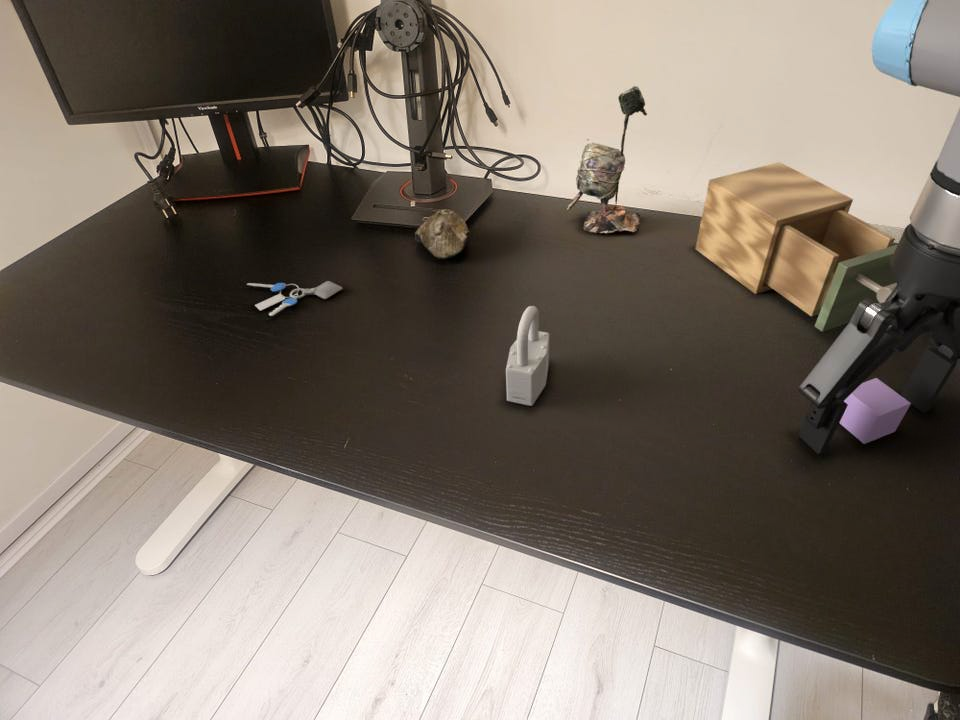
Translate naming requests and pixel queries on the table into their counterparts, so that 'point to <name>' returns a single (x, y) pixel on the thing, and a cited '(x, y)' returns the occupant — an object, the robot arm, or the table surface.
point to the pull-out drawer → (831, 266)
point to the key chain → (321, 291)
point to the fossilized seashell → (443, 234)
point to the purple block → (873, 411)
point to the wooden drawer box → (758, 217)
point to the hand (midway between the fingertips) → (863, 423)
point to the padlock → (527, 360)
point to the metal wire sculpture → (608, 175)
